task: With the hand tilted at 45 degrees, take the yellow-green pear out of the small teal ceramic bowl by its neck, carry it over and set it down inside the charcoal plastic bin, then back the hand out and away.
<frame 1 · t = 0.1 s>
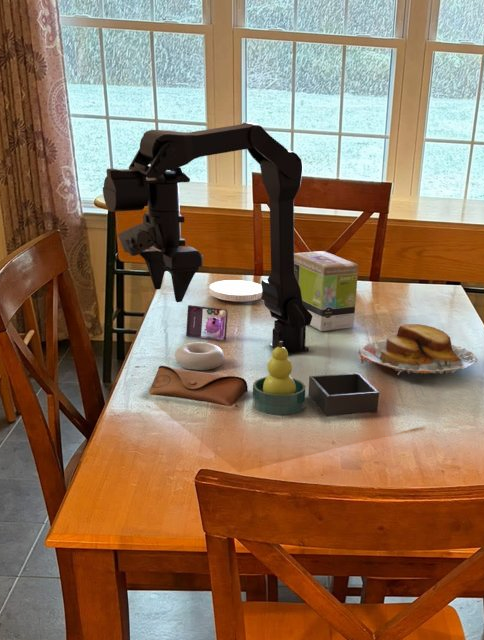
hand: (168, 295, 159), 15 cm above the table, tool pointing down, fingers open, 9 cm apart
bowl: (278, 408, 154), on the table
donut: (199, 364, 170), on the table
plastic lid: (237, 298, 212), on the table
purple toy box: (208, 336, 185), on the table
pear: (278, 404, 153), point 1 cm above the table, touching bowl
sunglasses case: (196, 397, 156), on the table
food on plate: (416, 365, 179), on the table
tea box: (320, 321, 200), on the table
bin: (342, 407, 156), on the table
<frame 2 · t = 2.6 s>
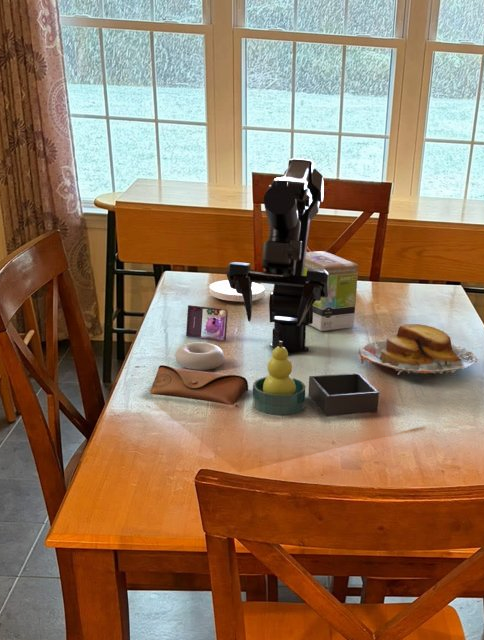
hand: (273, 322, 153), 14 cm above the table, tool tilted 40°, fingers open, 9 cm apart
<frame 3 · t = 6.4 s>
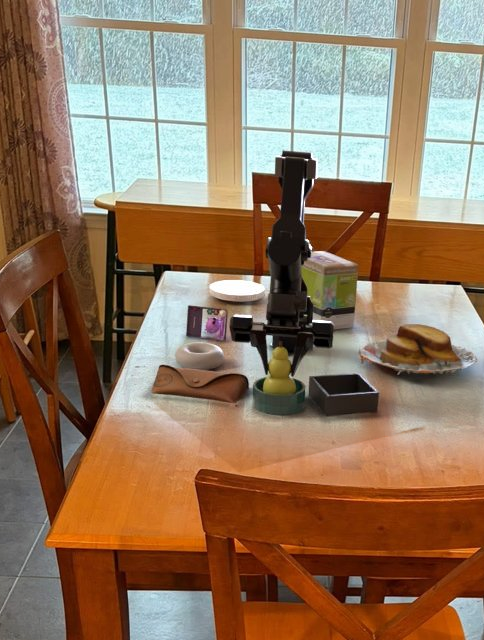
hand: (279, 375, 149), 7 cm above the table, tool tilted 45°, fingers closed on pear, 4 cm apart
pear: (278, 404, 153), point 1 cm above the table, touching bowl, gripper
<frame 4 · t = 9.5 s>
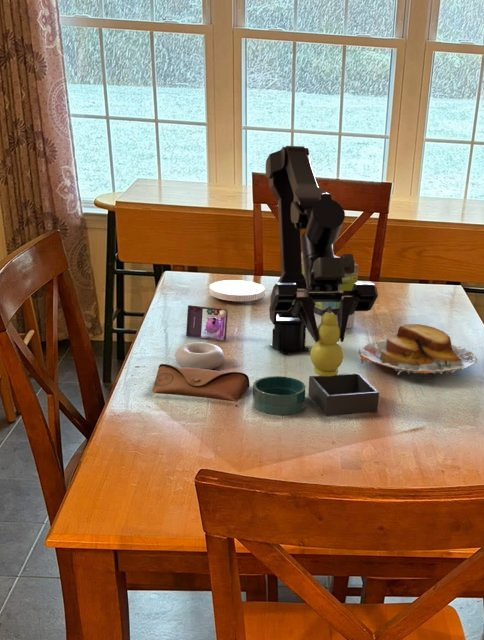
hand: (329, 341, 147), 13 cm above the table, tool tilted 45°, fingers closed on pear, 4 cm apart
pear: (325, 372, 151), point 7 cm above the table, touching gripper
when the fingers open (7 cm above the table, at t = 12.5 s): pear stays where it is, resting on bin.
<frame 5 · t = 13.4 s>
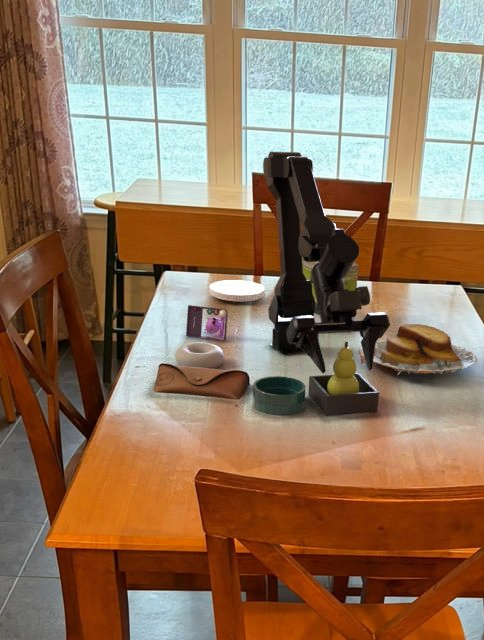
hand: (347, 370, 151), 8 cm above the table, tool tilted 45°, fingers open, 9 cm apart
pear: (342, 404, 156), point 1 cm above the table, touching bin
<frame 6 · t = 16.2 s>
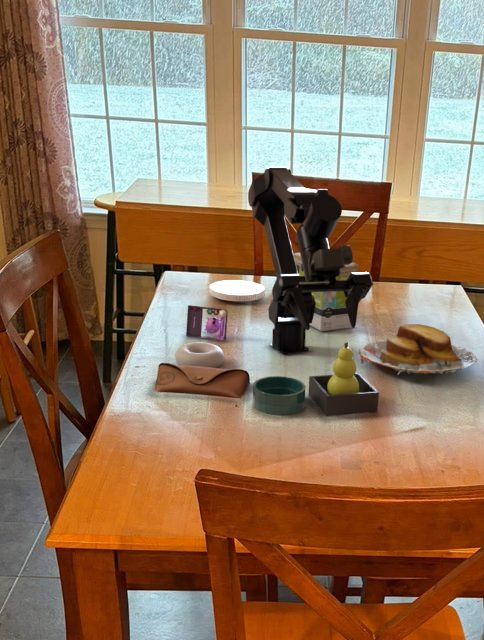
hand: (331, 328, 155), 13 cm above the table, tool tilted 45°, fingers open, 9 cm apart
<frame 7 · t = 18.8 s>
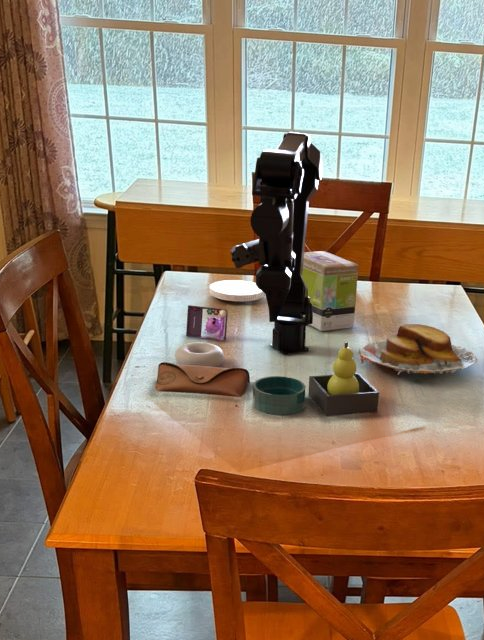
hand: (275, 313, 160), 13 cm above the table, tool pointing down, fingers open, 9 cm apart
at the end: pear 0.1 cm off-centre in the bin, point 0.6 cm above the bin's base; the gripper is holding nothing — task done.
